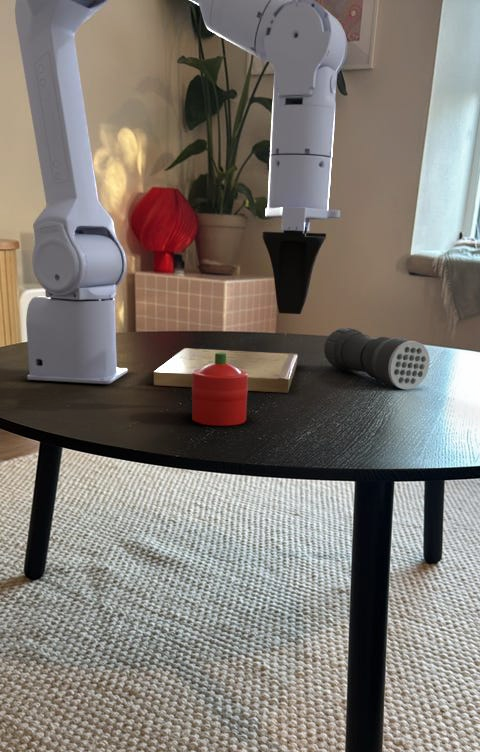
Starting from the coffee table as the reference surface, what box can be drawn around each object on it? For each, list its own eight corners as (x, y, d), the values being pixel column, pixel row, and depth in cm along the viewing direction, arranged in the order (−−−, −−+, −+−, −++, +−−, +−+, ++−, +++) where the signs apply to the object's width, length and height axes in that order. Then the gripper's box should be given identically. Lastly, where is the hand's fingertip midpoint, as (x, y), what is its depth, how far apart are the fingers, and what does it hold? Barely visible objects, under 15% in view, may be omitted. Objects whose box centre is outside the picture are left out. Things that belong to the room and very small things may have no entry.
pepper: (186, 424, 68) (187, 356, 66) (196, 411, 73) (197, 347, 70) (243, 428, 67) (245, 359, 65) (249, 415, 72) (251, 350, 70)
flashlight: (318, 367, 98) (321, 325, 96) (353, 366, 100) (356, 324, 98) (388, 390, 85) (393, 342, 83) (426, 388, 87) (432, 340, 85)
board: (153, 385, 84) (153, 371, 83) (184, 359, 101) (184, 347, 100) (287, 393, 82) (288, 378, 82) (296, 365, 99) (297, 353, 98)
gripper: (345, 151, 62) (332, 319, 67) (343, 165, 76) (332, 304, 81) (260, 148, 63) (254, 315, 68) (273, 163, 76) (267, 301, 81)
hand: (291, 309), depth 74 cm, fingers open, 7 cm apart
